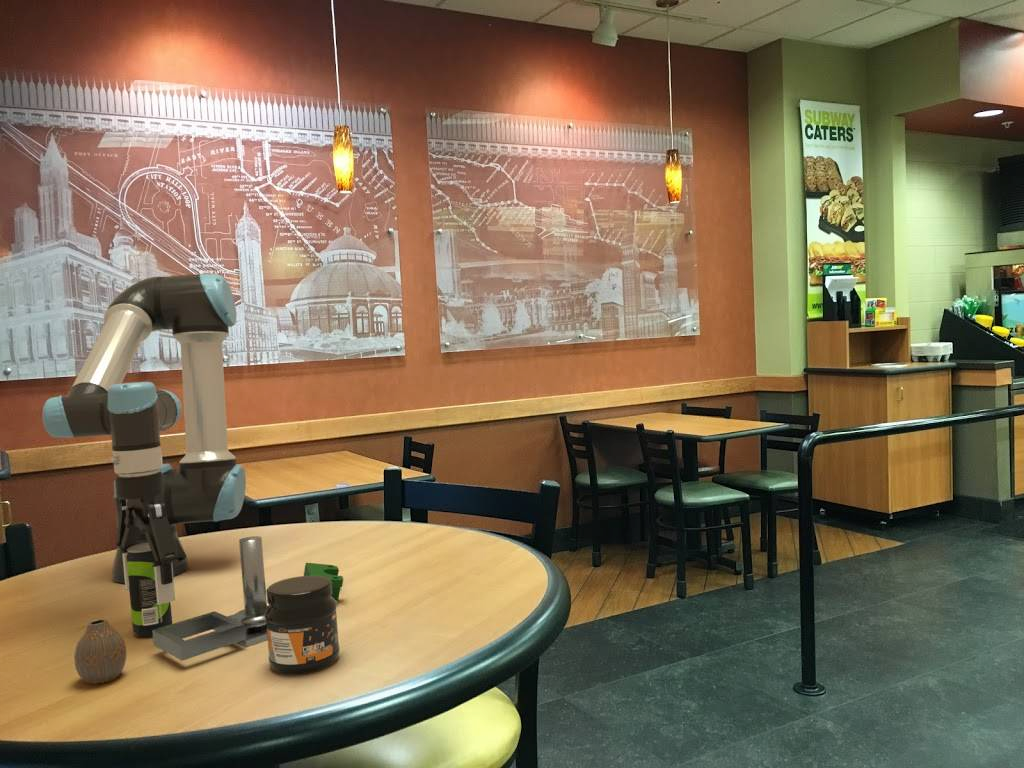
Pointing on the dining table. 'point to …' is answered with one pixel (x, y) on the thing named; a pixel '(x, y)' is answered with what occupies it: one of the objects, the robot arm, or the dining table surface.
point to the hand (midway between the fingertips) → (149, 595)
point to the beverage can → (145, 592)
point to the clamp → (326, 575)
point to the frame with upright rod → (228, 629)
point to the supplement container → (301, 625)
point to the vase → (100, 653)
